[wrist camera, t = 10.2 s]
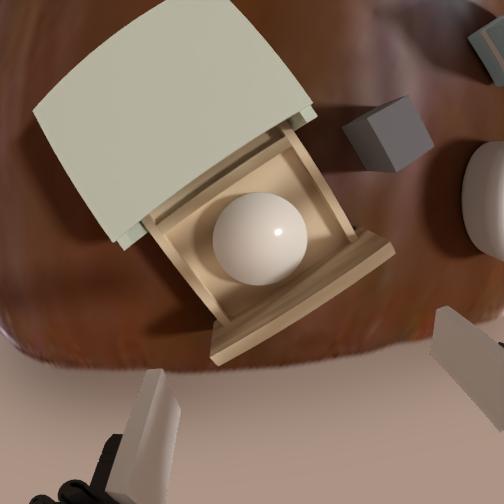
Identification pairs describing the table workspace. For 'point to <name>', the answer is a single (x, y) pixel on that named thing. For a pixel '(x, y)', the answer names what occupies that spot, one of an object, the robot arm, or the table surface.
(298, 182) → the wooden drawer
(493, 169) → the donut shape
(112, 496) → the robot arm
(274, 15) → the table surface
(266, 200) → the white smooth rounded piece
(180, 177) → the drawer cabinet
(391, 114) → the block
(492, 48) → the radio
